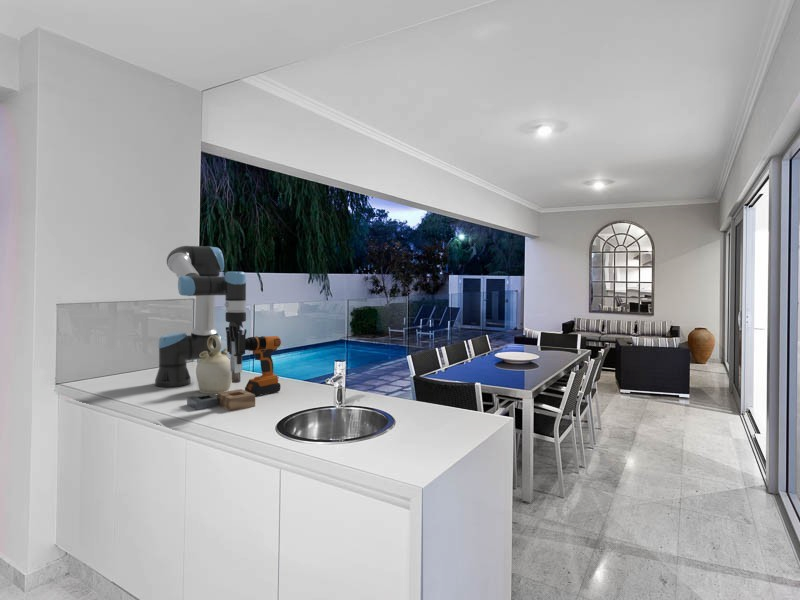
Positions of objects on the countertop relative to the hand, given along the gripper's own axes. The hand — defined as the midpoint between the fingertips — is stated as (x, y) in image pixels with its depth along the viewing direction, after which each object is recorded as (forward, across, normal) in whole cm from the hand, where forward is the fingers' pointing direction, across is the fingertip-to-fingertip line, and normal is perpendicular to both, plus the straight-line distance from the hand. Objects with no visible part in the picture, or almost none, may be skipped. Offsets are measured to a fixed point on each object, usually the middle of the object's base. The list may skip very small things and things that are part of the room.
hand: (236, 371), depth 190 cm
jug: (+14, -30, +4) cm, 33 cm away
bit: (+4, 0, 0) cm, 4 cm away
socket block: (+14, -8, -9) cm, 18 cm away
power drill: (+14, -13, +16) cm, 25 cm away
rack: (+14, 0, 0) cm, 14 cm away
